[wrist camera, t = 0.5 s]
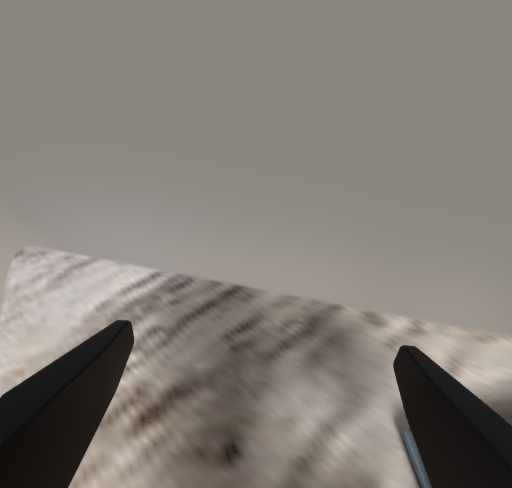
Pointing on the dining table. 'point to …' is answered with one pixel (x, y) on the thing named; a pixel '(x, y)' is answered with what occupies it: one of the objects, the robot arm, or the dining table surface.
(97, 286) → the dining table surface
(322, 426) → the dining table surface
